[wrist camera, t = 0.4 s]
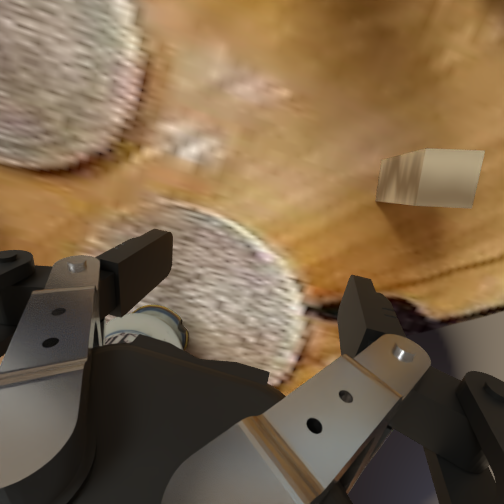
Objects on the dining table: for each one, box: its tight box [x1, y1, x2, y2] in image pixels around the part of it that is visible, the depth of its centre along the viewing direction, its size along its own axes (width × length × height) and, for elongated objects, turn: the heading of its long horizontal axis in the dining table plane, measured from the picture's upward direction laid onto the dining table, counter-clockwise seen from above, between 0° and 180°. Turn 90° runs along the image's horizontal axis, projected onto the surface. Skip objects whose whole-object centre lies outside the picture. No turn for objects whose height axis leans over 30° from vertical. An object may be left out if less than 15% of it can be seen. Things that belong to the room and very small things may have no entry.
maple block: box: [375, 148, 485, 208], centre depth 29 cm, size 5×5×10 cm
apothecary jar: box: [105, 305, 188, 351], centre depth 33 cm, size 12×12×18 cm
